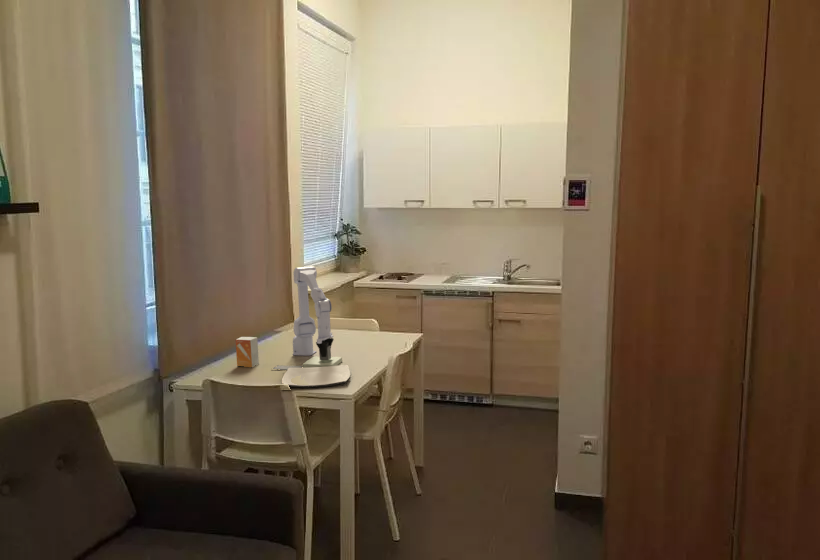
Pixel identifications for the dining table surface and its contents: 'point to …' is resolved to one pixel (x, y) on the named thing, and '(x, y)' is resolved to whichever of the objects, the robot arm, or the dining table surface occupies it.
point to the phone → (286, 367)
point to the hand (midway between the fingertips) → (325, 355)
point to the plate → (318, 376)
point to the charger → (327, 354)
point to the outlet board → (322, 362)
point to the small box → (247, 351)
